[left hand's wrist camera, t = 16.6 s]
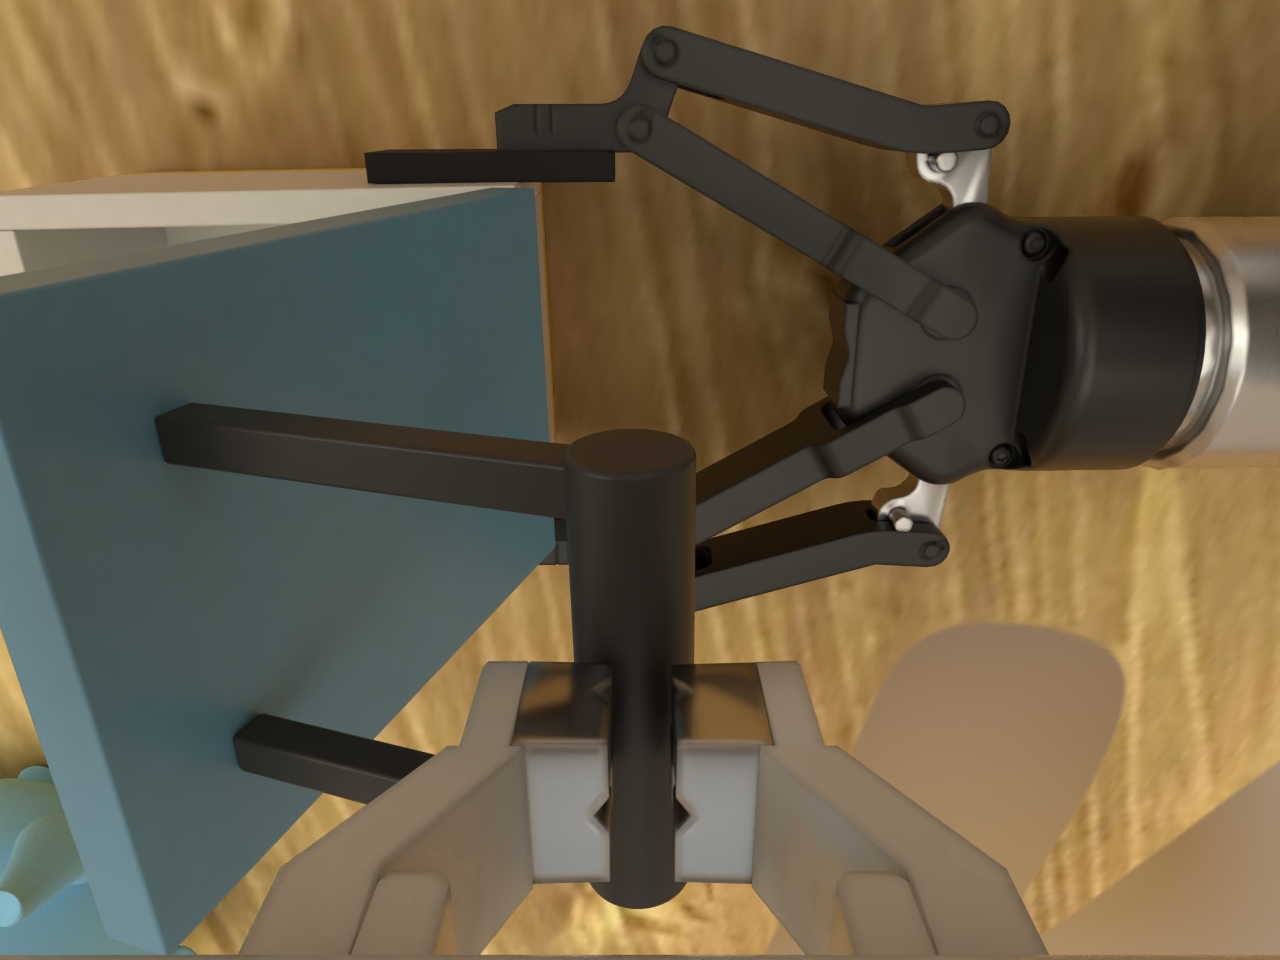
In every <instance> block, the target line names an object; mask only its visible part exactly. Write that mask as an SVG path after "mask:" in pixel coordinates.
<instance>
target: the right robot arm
mask: <svg viewBox="0 0 1280 960" xmlns="http://www.w3.org/2000/svg"><path fill="white" fill-rule="evenodd" d="M677 88H680V89H683V90H686V91H690V92H693V93H696V94H700V95H703V96H706V97H709V98H713V99H716V100H719V101H722V102H726V103H729V104H732V105H736V106H739V107H742V108H745V109H749V110H752V111H755V112H758V113H762V114H765V115H768V116H772V117H775V118H778V119H781V120H785V121H788V122H791V123H794V124H798V125H801V126H804V127H808V128H811V129H814V130H817V131H821V132H824V133H827V134H830V135H834V136H837V137H840V138H844V139H847V140H850V141H853V142H857V143H860V144H863V145H866V146H871V147H875V148H879V149H885V150H893V151H901V152H907V167H908V170H909V172H910V173H911V174H912V175H913V177H915V178H917V179H919V180H923V181H928V182H931V183H933V184H934V185H936V186H937V188H938V189H939V190H940V193H941V195H942V204H941V205H939V206H937V207H936V208H934V209H933V210H932V211H930V212H929V213H927V214H926V215H924V216H923V217H922V218H920V219H919V220H917V221H916V222H915V223H913V224H912V225H910V226H909V227H907V228H906V229H905V230H903V231H902V232H900V233H899V234H898V235H896V236H895V237H893V238H892V239H890V240H889V241H888V242H886V243H885V244H883V245H882V246H880V245H878V244H876V243H875V242H873V241H871V240H870V239H868V238H866V237H865V236H863V235H861V234H860V233H858V232H856V231H854V230H853V229H851V228H849V227H847V226H846V225H844V224H842V223H841V222H839V221H838V220H836V219H834V218H833V217H831V216H829V215H828V214H826V213H824V212H823V211H821V210H819V209H818V208H816V207H815V206H813V205H811V204H810V203H808V202H806V201H805V200H803V199H801V198H800V197H798V196H796V195H795V194H793V193H792V192H790V191H788V190H787V189H785V188H783V187H782V186H780V185H778V184H777V183H775V182H773V181H772V180H770V179H769V178H767V177H765V176H764V175H762V174H760V173H759V172H757V171H755V170H754V169H752V168H750V167H749V166H747V165H746V164H744V163H742V162H741V161H739V160H737V159H736V158H734V157H732V156H731V155H729V154H727V153H726V152H724V151H723V150H721V149H719V148H718V147H716V146H714V145H713V144H711V143H709V142H708V141H706V140H704V139H703V138H701V137H699V136H698V135H696V134H695V133H693V132H691V131H690V130H688V129H686V128H685V127H683V126H681V125H680V124H678V123H676V122H675V121H673V120H672V119H670V118H668V117H667V116H668V113H669V110H670V107H671V104H672V102H673V99H674V96H675V93H676V90H677ZM495 120H496V137H497V149H422V150H383V151H376V152H369V153H364V155H365V164H366V172H367V181H368V183H495V182H615V152H632V153H634V154H636V155H637V156H639V157H641V158H643V159H644V160H646V161H648V162H649V163H651V164H653V165H654V166H656V167H658V168H659V169H661V170H663V171H664V172H666V173H668V174H669V175H671V176H673V177H674V178H676V179H678V180H680V181H681V182H683V183H685V184H686V185H688V186H690V187H691V188H693V189H695V190H696V191H698V192H700V193H701V194H703V195H705V196H706V197H708V198H710V199H712V200H713V201H715V202H717V203H718V204H720V205H722V206H723V207H725V208H727V209H728V210H730V211H732V212H733V213H735V214H737V215H738V216H740V217H742V218H744V219H745V220H747V221H749V222H750V223H752V224H754V225H755V226H757V227H759V228H760V229H762V230H764V231H765V232H767V233H769V234H770V235H772V236H774V237H776V238H777V239H779V240H781V241H782V242H784V243H786V244H787V245H789V246H791V247H792V248H794V249H796V250H797V251H799V252H801V253H802V254H804V255H806V256H808V257H809V258H811V259H813V260H814V261H816V262H818V263H819V264H821V265H823V266H824V267H826V268H827V269H829V270H831V271H832V272H834V273H835V274H837V275H839V276H840V277H842V280H841V281H840V283H839V285H838V287H837V290H836V291H831V294H830V308H829V319H830V324H831V329H832V334H833V345H832V347H831V350H830V353H829V356H828V359H827V362H826V365H825V374H824V388H823V389H824V390H825V392H826V393H827V394H828V397H826V398H824V399H822V400H820V401H818V402H817V403H815V404H813V405H811V406H809V407H807V408H806V409H804V410H803V411H802V412H801V413H800V414H799V415H798V417H797V418H796V419H795V420H794V421H793V422H791V423H789V424H787V425H785V426H783V427H782V428H780V429H778V430H776V431H774V432H772V433H770V434H769V435H767V436H765V437H763V438H761V439H759V440H757V441H755V442H754V443H752V444H750V445H748V446H746V447H744V448H742V449H740V450H739V451H737V452H735V453H733V454H731V455H729V456H727V457H726V458H724V459H722V460H720V461H718V462H716V463H714V464H712V465H711V466H709V467H707V468H705V469H703V470H701V471H699V472H698V473H696V511H695V611H699V610H703V609H706V608H710V607H714V606H718V605H722V604H726V603H729V602H733V601H737V600H741V599H745V598H749V597H752V596H756V595H760V594H764V593H768V592H772V591H775V590H779V589H783V588H787V587H791V586H794V585H798V584H802V583H806V582H810V581H814V580H817V579H821V578H825V577H829V576H833V575H837V574H840V573H844V572H848V571H852V570H856V569H860V568H863V567H867V566H871V565H875V564H879V565H899V566H918V567H931V566H936V565H938V564H940V563H942V562H943V561H944V559H945V558H946V557H947V555H948V553H949V543H948V541H947V539H946V537H945V536H944V535H943V533H942V532H941V531H940V523H941V519H942V514H943V509H944V505H945V500H946V496H947V491H948V486H949V484H950V483H953V482H956V481H959V480H960V479H962V478H964V477H966V476H968V475H971V474H973V473H976V472H979V471H983V470H987V469H1005V470H1021V471H1043V470H1116V469H1129V468H1133V467H1136V466H1138V465H1140V464H1141V465H1142V466H1146V467H1150V468H1154V469H1158V470H1163V469H1203V468H1243V467H1280V216H1212V217H1170V218H1168V219H1165V220H1163V221H1160V222H1158V221H1157V220H1155V219H1151V218H1148V217H1140V216H1113V217H1011V216H1008V215H1006V214H1004V213H1002V212H1001V211H999V210H998V209H996V208H995V207H993V206H991V205H989V204H988V197H989V183H990V168H991V153H992V148H994V147H996V146H997V145H998V144H1000V143H1001V142H1002V141H1003V140H1004V138H1005V137H1006V135H1007V134H1008V131H1009V127H1010V116H1009V113H1008V111H1007V109H1006V108H1005V106H1003V105H1002V104H1000V103H999V102H996V101H970V102H953V103H941V104H929V105H920V104H917V103H914V102H910V101H907V100H904V99H901V98H898V97H894V96H891V95H888V94H885V93H882V92H878V91H875V90H872V89H869V88H866V87H863V86H859V85H856V84H853V83H850V82H847V81H843V80H840V79H837V78H834V77H831V76H827V75H824V74H821V73H818V72H815V71H812V70H808V69H805V68H802V67H799V66H796V65H792V64H789V63H786V62H783V61H780V60H777V59H773V58H770V57H767V56H764V55H761V54H757V53H754V52H751V51H748V50H745V49H741V48H738V47H735V46H732V45H729V44H726V43H722V42H719V41H716V40H713V39H710V38H706V37H703V36H700V35H697V34H694V33H691V32H687V31H684V30H681V29H678V28H675V27H670V26H661V27H658V28H655V29H653V30H652V31H651V32H650V33H649V34H648V35H647V36H646V38H645V40H644V42H643V45H642V48H641V51H640V54H639V57H638V60H637V63H636V66H635V69H634V72H633V75H632V79H631V82H630V84H629V86H628V88H627V90H626V91H625V92H624V94H623V95H622V96H621V97H619V98H618V99H617V100H615V101H613V102H610V103H605V104H513V105H511V106H509V107H507V108H504V109H502V110H500V111H498V112H496V113H495ZM885 455H886V456H887V457H889V458H890V459H892V460H893V461H894V462H896V463H897V464H899V465H900V466H901V467H903V468H904V469H905V470H907V471H908V472H909V475H908V477H907V478H906V480H905V481H904V482H902V483H901V484H899V485H897V486H895V487H890V488H881V489H879V490H878V491H877V492H876V493H875V496H874V498H873V500H862V501H853V502H846V503H842V504H837V505H833V506H829V507H826V508H822V509H818V510H814V511H811V512H807V513H803V514H799V515H796V516H792V517H788V518H785V519H781V520H777V521H773V522H770V523H766V524H762V525H758V526H755V527H751V528H747V529H744V530H740V531H736V532H732V533H729V534H725V535H721V536H717V537H714V538H711V537H713V536H715V535H717V534H719V533H721V532H723V531H725V530H727V529H729V528H731V527H733V526H735V525H737V524H738V523H740V522H742V521H744V520H746V519H748V518H750V517H752V516H754V515H756V514H758V513H760V512H762V511H763V510H765V509H767V508H769V507H771V506H773V505H775V504H777V503H779V502H781V501H783V500H785V499H787V498H789V497H790V496H792V495H794V494H796V493H798V492H800V491H802V490H804V489H806V488H808V487H810V486H812V485H814V484H815V483H817V482H819V481H821V480H823V479H826V478H840V477H844V476H846V475H849V474H851V473H852V472H854V471H856V470H858V469H860V468H862V467H864V466H866V465H868V464H870V463H872V462H874V461H876V460H878V459H880V458H881V457H883V456H885ZM554 528H555V548H554V549H553V550H552V551H551V552H550V553H549V554H548V555H547V556H546V557H545V558H544V559H543V560H542V561H541V562H540V564H539V565H556V564H559V565H568V564H569V554H568V536H567V520H566V519H559V518H554Z"/></svg>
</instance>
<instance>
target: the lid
mask: <svg viewBox="0 0 1280 960" xmlns="http://www.w3.org/2000/svg"><path fill="white" fill-rule="evenodd" d="M695 511H696V453H695V451H694V449H693V447H692V445H691V444H690V443H689V442H688V441H686V440H685V439H683V438H681V437H678V436H676V435H673V434H669V433H665V432H660V431H654V430H645V429H620V430H611V431H605V432H600V433H595V434H592V435H588V436H585V437H583V438H580V439H578V440H576V441H575V442H573V443H572V444H570V445H568V444H559V443H550V442H549V427H548V410H547V393H546V376H545V359H544V342H543V325H542V308H541V291H540V275H539V258H538V241H537V224H536V207H535V190H534V189H533V188H487V189H481V190H476V191H470V192H465V193H459V194H454V195H448V196H442V197H437V198H431V199H426V200H420V201H415V202H409V203H404V204H398V205H393V206H387V207H381V208H376V209H370V210H365V211H359V212H354V213H348V214H343V215H337V216H332V217H326V218H320V219H315V220H309V221H304V222H298V223H293V224H287V225H282V226H276V227H271V228H265V229H260V230H254V231H248V232H243V233H237V234H232V235H226V236H221V237H215V238H210V239H204V240H199V241H193V242H187V243H182V244H176V245H171V246H165V247H160V248H154V249H149V250H143V251H138V252H132V253H126V254H121V255H115V256H110V257H104V258H99V259H93V260H88V261H82V262H77V263H71V264H66V265H60V266H54V267H49V268H43V269H38V270H32V271H27V272H21V273H16V274H10V275H5V276H0V628H1V631H2V634H3V637H4V640H5V643H6V646H7V649H8V651H9V654H10V657H11V660H12V663H13V666H14V669H15V672H16V674H17V677H18V680H19V683H20V686H21V689H22V692H23V695H24V698H25V700H26V703H27V706H28V709H29V712H30V715H31V718H32V721H33V723H34V726H35V729H36V732H37V735H38V738H39V741H40V744H41V746H42V749H43V752H44V755H45V758H46V761H47V764H48V767H49V770H50V772H51V775H52V778H53V781H54V784H55V787H56V790H57V793H58V795H59V798H60V801H61V804H62V807H63V810H64V813H65V816H66V818H67V821H68V824H69V827H70V830H71V833H72V836H73V839H74V842H75V844H76V847H77V850H78V853H79V856H80V859H81V862H82V865H83V867H84V870H85V873H86V876H87V879H88V882H89V885H90V888H91V890H92V893H93V896H94V899H95V902H96V905H97V908H98V911H99V914H100V916H101V919H102V922H103V925H104V928H105V931H106V934H107V936H108V937H110V938H113V939H116V940H119V941H121V942H124V943H127V944H130V945H132V946H135V947H138V948H141V949H143V950H146V951H149V952H152V953H154V954H157V955H170V954H171V953H172V952H173V951H174V950H175V949H176V948H177V947H178V946H179V945H180V944H181V943H182V942H183V941H184V940H185V939H186V938H187V936H188V935H189V934H190V933H191V932H192V931H193V930H194V929H195V928H196V927H197V926H198V925H199V924H200V923H201V922H202V921H203V919H204V918H205V917H206V916H207V915H208V914H209V913H210V912H211V911H212V910H213V909H214V908H215V907H216V906H217V905H218V904H219V903H220V901H221V900H222V899H223V898H224V897H225V896H226V895H227V894H228V893H229V892H230V891H231V890H232V889H233V888H234V887H235V886H236V885H237V883H238V882H239V881H240V880H241V879H242V878H243V877H244V876H245V875H246V874H247V873H248V872H249V871H250V870H251V869H252V868H253V867H254V865H255V864H256V863H257V862H258V861H259V860H260V859H261V858H262V857H263V856H264V855H265V854H266V853H267V852H268V851H269V850H270V849H271V847H272V846H273V845H274V844H275V843H276V842H277V841H278V840H279V839H280V838H281V837H282V836H283V835H284V834H285V833H286V832H287V831H288V829H289V828H290V827H291V826H292V825H293V824H294V823H295V822H296V821H297V820H298V819H299V818H300V817H301V816H302V815H303V814H304V812H305V811H306V810H307V809H308V808H309V807H310V806H311V805H312V804H313V803H314V802H315V801H316V800H317V799H318V798H319V797H320V796H321V794H322V793H326V794H330V795H334V796H337V797H341V798H345V799H349V800H352V801H356V802H360V803H363V804H369V803H370V802H371V801H373V800H374V799H375V798H377V797H378V796H380V795H381V794H382V793H384V792H385V791H386V790H388V789H389V788H390V787H392V786H393V785H395V784H396V783H397V782H399V781H400V780H401V779H403V778H404V777H406V776H407V775H408V774H410V773H411V772H412V771H414V770H415V769H417V768H418V767H419V766H421V765H422V764H423V763H425V762H426V761H428V760H429V759H430V758H432V757H433V756H434V754H429V753H425V752H421V751H417V750H413V749H409V748H405V747H401V746H396V745H392V744H388V743H384V742H380V741H376V740H373V739H374V738H375V737H376V736H377V735H378V734H379V733H380V732H381V731H382V730H383V729H384V728H385V727H386V726H387V725H388V723H389V722H390V721H391V720H392V719H393V718H394V717H395V716H396V715H397V714H398V713H399V712H400V711H401V710H402V709H403V708H404V707H405V705H406V704H407V703H408V702H409V701H410V700H411V699H412V698H413V697H414V696H415V695H416V694H417V693H418V692H419V691H420V690H421V689H422V687H423V686H424V685H425V684H426V683H427V682H428V681H429V680H430V679H431V678H432V677H433V676H434V675H435V674H436V673H437V672H438V671H439V669H440V668H441V667H442V666H443V665H444V664H445V663H446V662H447V661H448V660H449V659H450V658H451V657H452V656H453V655H454V654H455V653H456V651H457V650H458V649H459V648H460V647H461V646H462V645H463V644H464V643H465V642H466V641H467V640H468V639H469V638H470V637H471V636H472V635H473V633H474V632H475V631H476V630H477V629H478V628H479V627H480V626H481V625H482V624H483V623H484V622H485V621H486V620H487V619H488V618H489V616H490V615H491V614H492V613H493V612H494V611H495V610H496V609H497V608H498V607H499V606H500V605H501V604H502V603H503V602H504V601H505V600H506V598H507V597H508V596H509V595H510V594H511V593H512V592H513V591H514V590H515V589H516V588H517V587H518V586H519V585H520V584H521V583H522V582H523V580H524V579H525V578H526V577H527V576H528V575H529V574H530V573H531V572H532V571H533V570H534V569H535V568H536V567H537V566H538V565H539V564H540V562H541V561H542V560H543V559H544V558H545V557H546V556H547V555H548V554H549V553H550V552H551V551H552V550H553V549H554V548H555V528H554V518H559V519H566V520H567V536H568V554H569V573H570V592H571V611H572V630H573V649H574V662H580V663H613V696H614V698H613V728H614V791H613V807H612V844H611V865H610V882H589V883H590V884H591V886H592V887H593V889H594V890H595V891H596V892H597V893H598V894H599V895H600V896H601V897H602V898H603V899H605V900H607V901H608V902H610V903H612V904H614V905H617V906H620V907H624V908H630V909H646V908H651V907H656V906H659V905H661V904H664V903H666V902H668V901H669V900H671V899H672V898H674V897H675V896H676V895H677V894H679V892H680V891H681V890H682V889H683V888H684V886H685V885H686V883H687V882H675V873H674V855H673V838H672V822H673V808H672V807H671V791H670V725H671V724H672V720H671V696H670V691H671V665H672V664H694V614H695Z"/></svg>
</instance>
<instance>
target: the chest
mask: <svg viewBox="0 0 1280 960" xmlns="http://www.w3.org/2000/svg"><path fill="white" fill-rule="evenodd" d="M487 188H533V189H534V190H535V207H536V224H537V241H538V258H539V275H540V291H541V308H542V325H543V342H544V359H545V376H546V393H547V410H548V427H549V442H550V443H555V437H556V426H555V408H554V390H553V372H552V354H551V337H550V319H549V301H548V283H547V265H546V247H545V229H544V211H543V193H542V182H495V183H368V181H367V172H366V168H314V169H260V170H205V171H151V172H133V173H126V174H123V175H116V176H109V177H102V178H94V179H87V180H80V181H73V182H66V183H59V184H52V185H44V186H37V187H30V188H23V189H16V190H9V191H2V192H0V276H5V275H10V274H16V273H21V272H27V271H32V270H38V269H43V268H49V267H54V266H60V265H66V264H71V263H77V262H82V261H88V260H93V259H99V258H104V257H110V256H115V255H121V254H126V253H132V252H138V251H143V250H149V249H154V248H160V247H165V246H171V245H176V244H182V243H187V242H193V241H199V240H204V239H210V238H215V237H221V236H226V235H232V234H237V233H243V232H248V231H254V230H260V229H265V228H271V227H276V226H282V225H287V224H293V223H298V222H304V221H309V220H315V219H320V218H326V217H332V216H337V215H343V214H348V213H354V212H359V211H365V210H370V209H376V208H381V207H387V206H393V205H398V204H404V203H409V202H415V201H420V200H426V199H431V198H437V197H442V196H448V195H454V194H459V193H465V192H470V191H476V190H481V189H487Z"/></svg>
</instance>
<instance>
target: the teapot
mask: <svg viewBox="0 0 1280 960" xmlns="http://www.w3.org/2000/svg"><path fill="white" fill-rule="evenodd" d="M0 955H157V954H154V953H152V952H149V951H146V950H143V949H141V948H138V947H135V946H132V945H130V944H127V943H124V942H121V941H119V940H116V939H113V938H110V937H108V936H107V934H106V931H105V928H104V925H103V922H102V919H101V916H100V914H99V911H98V908H97V905H96V902H95V899H94V896H93V893H92V890H91V888H90V885H89V882H88V879H87V876H86V873H85V870H84V867H83V865H82V862H81V859H80V856H79V853H78V850H77V847H76V844H75V842H74V839H73V836H72V833H71V830H70V827H69V824H68V821H67V818H66V816H65V813H64V810H63V807H62V804H61V801H60V798H59V795H58V793H57V790H56V787H55V784H54V781H53V778H52V775H51V772H50V770H49V768H47V767H43V766H31V767H28V768H26V769H24V770H22V771H21V772H20V774H19V775H18V778H2V779H0ZM170 955H197V954H196V953H195V952H194V951H193V950H192V949H190V948H188V947H186V946H178V947H177V948H176V949H175V950H174V951H173V952H172V953H171V954H170Z"/></svg>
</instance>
